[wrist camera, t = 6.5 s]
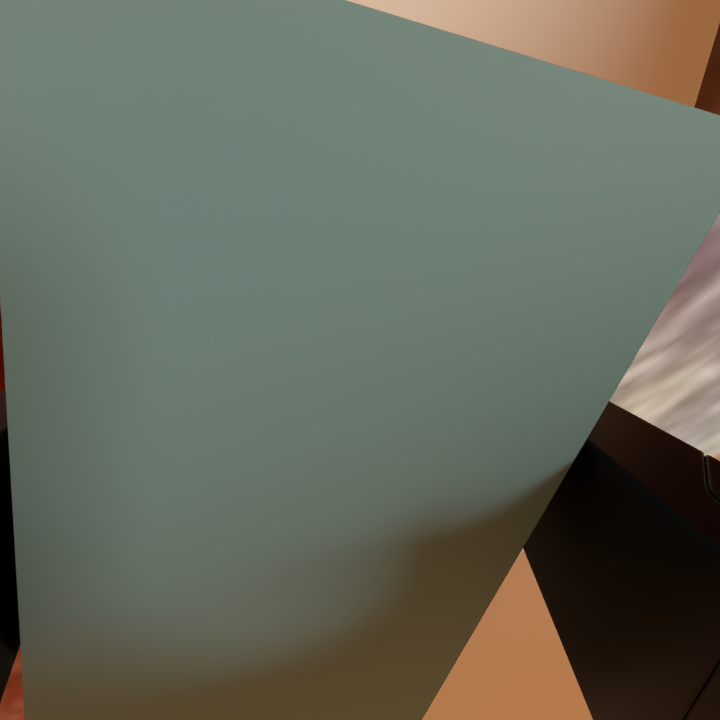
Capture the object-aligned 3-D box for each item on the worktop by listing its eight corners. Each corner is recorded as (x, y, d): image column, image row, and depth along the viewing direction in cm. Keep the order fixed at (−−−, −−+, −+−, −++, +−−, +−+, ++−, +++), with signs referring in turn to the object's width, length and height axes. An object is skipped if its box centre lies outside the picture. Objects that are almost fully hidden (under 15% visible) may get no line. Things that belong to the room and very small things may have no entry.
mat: (742, -97, 15) (756, -100, 14) (607, 368, 22) (613, 375, 22) (-122, -129, 13) (-136, -133, 12) (53, 400, 20) (48, 409, 20)
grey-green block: (366, 558, 13) (398, 760, 10) (98, 537, 12) (26, 764, 8) (560, 65, 8) (768, 130, 5) (127, -67, 7) (-25, -114, 3)
